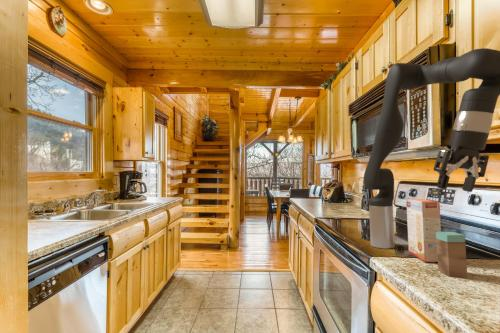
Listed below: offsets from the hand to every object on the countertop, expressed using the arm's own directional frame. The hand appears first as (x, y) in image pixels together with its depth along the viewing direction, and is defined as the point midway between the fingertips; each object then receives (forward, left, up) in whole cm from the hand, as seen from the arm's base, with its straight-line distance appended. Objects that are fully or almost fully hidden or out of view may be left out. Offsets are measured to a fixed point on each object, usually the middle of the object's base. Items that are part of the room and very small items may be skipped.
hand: (454, 189), depth 71 cm
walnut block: (-9, +4, -26) cm, 27 cm away
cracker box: (-26, +6, -26) cm, 37 cm away
